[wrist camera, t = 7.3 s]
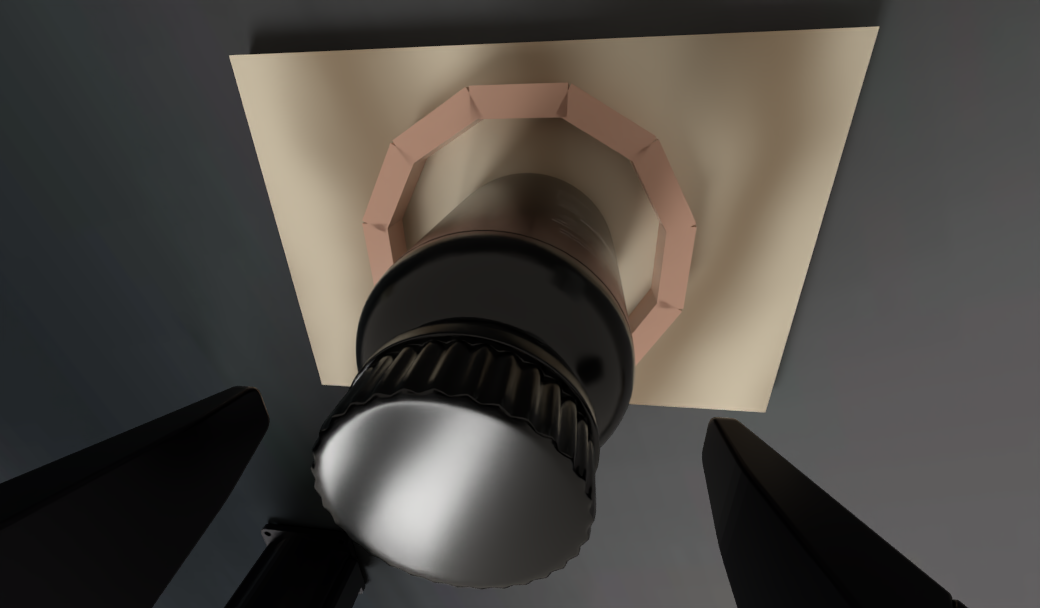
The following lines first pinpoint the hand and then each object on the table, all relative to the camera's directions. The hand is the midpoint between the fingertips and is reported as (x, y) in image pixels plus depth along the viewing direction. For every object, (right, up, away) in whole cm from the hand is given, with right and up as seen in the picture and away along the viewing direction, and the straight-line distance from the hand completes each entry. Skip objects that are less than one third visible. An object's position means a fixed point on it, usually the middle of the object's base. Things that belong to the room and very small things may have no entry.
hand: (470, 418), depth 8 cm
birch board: (+1, +5, +10) cm, 11 cm away
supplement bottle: (+1, +4, +9) cm, 10 cm away
